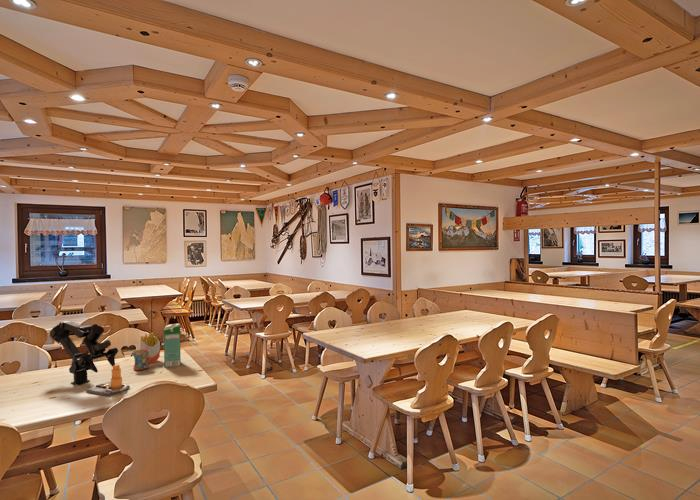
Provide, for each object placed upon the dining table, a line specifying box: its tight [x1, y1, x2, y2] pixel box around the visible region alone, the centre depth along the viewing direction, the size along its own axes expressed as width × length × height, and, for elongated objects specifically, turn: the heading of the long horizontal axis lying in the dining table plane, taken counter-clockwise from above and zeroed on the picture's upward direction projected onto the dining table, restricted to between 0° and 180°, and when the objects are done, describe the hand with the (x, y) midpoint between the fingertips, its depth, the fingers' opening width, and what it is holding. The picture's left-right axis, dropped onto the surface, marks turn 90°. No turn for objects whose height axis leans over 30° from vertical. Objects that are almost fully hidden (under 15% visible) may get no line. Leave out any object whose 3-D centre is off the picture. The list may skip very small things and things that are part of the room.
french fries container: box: [139, 332, 161, 365], centre depth 261 cm, size 5×11×18 cm, turn 156°
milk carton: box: [163, 322, 182, 368], centre depth 255 cm, size 9×9×25 cm
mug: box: [131, 349, 151, 371], centre depth 247 cm, size 12×9×11 cm
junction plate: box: [85, 381, 131, 397], centre depth 211 cm, size 18×12×2 cm, turn 68°
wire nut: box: [110, 364, 123, 390], centre depth 210 cm, size 5×5×12 cm
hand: (105, 369), depth 213 cm, fingers open, 9 cm apart
